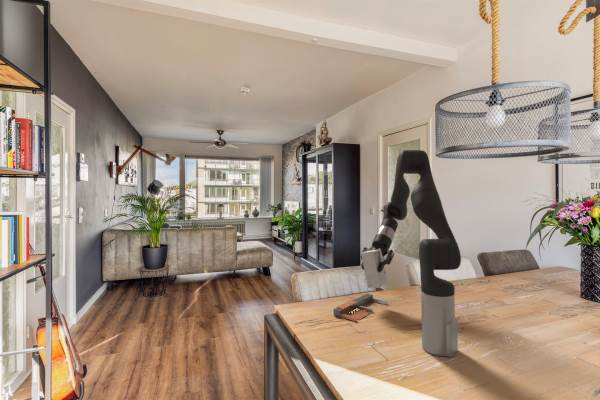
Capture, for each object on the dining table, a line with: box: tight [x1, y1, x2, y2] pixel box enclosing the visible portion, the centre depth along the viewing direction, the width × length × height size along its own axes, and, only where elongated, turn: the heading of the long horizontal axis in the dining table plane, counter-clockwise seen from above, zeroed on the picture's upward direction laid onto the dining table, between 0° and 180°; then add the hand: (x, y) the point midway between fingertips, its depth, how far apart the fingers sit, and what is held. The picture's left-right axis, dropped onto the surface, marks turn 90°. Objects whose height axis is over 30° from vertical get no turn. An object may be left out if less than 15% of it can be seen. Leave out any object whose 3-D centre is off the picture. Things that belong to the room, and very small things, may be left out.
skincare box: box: [360, 250, 388, 289], centre depth 131 cm, size 8×6×15 cm
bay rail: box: [333, 293, 388, 323], centre depth 128 cm, size 25×10×3 cm, turn 137°
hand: (370, 269), depth 129 cm, fingers closed on skincare box, 6 cm apart
